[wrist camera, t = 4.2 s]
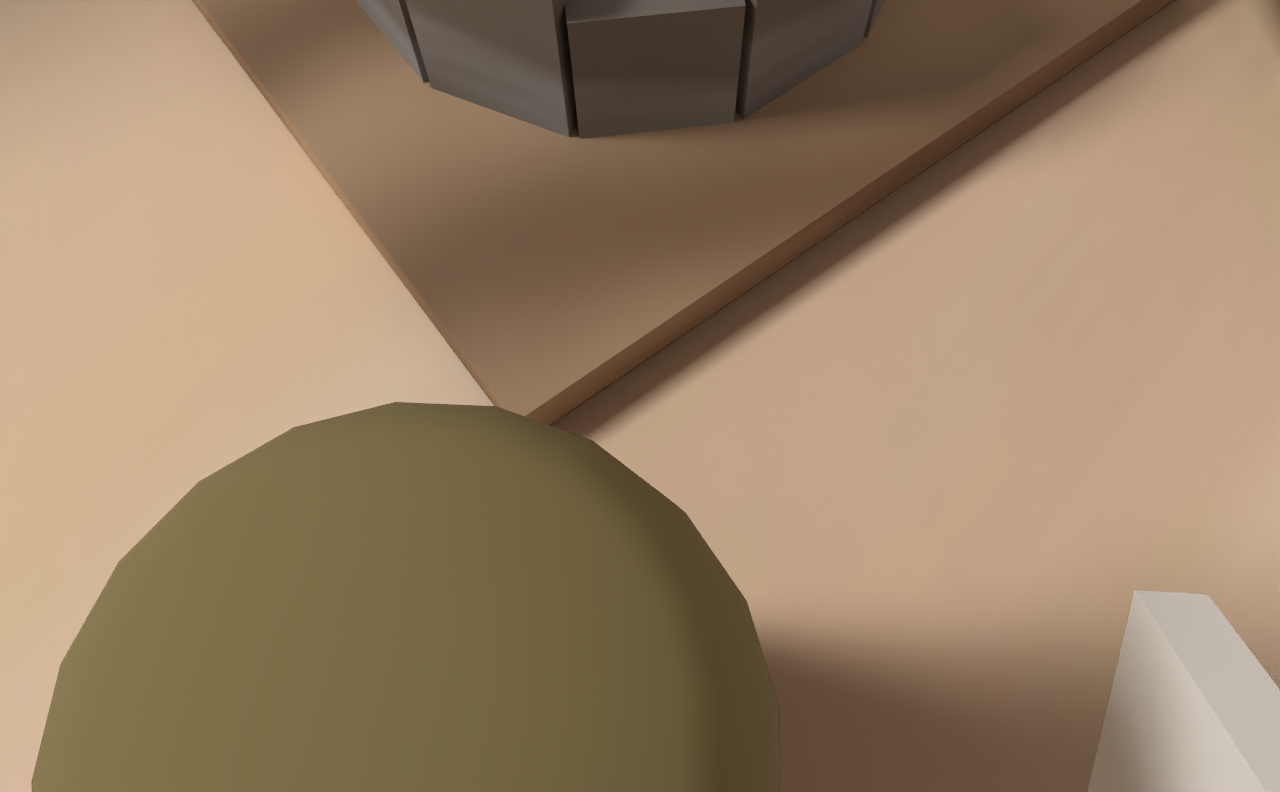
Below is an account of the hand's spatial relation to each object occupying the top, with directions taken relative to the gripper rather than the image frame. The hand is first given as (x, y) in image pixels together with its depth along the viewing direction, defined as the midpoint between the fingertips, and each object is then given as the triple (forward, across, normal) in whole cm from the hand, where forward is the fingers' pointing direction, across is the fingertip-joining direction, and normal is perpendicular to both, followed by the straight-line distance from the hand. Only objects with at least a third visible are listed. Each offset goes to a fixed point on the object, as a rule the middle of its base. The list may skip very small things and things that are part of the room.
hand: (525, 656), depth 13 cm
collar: (+15, 0, +7) cm, 16 cm away
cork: (+3, 0, -5) cm, 6 cm away
